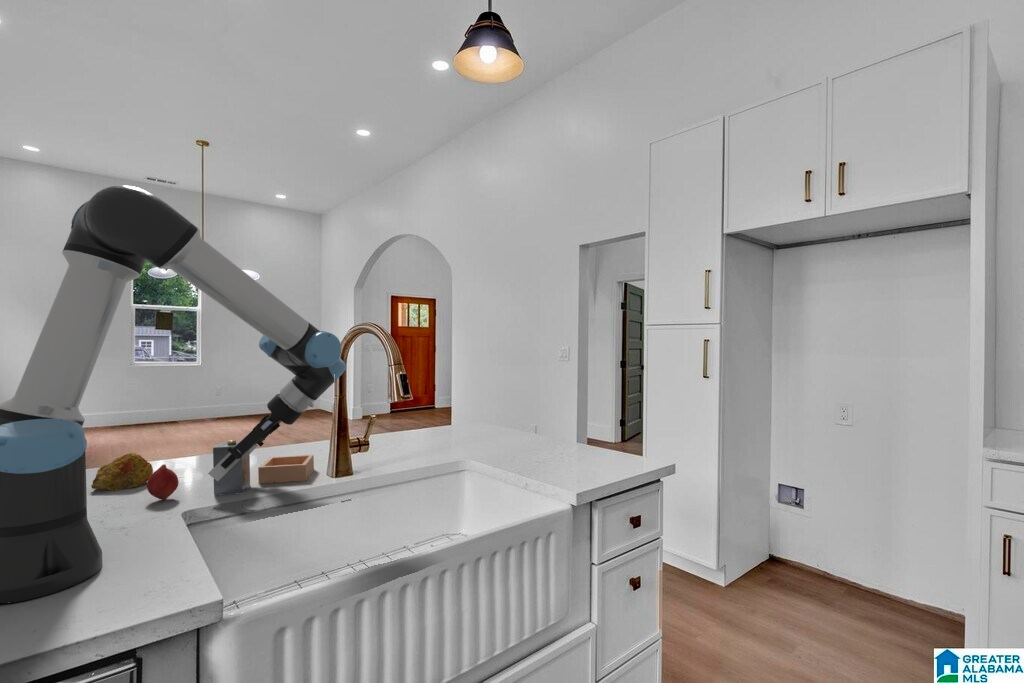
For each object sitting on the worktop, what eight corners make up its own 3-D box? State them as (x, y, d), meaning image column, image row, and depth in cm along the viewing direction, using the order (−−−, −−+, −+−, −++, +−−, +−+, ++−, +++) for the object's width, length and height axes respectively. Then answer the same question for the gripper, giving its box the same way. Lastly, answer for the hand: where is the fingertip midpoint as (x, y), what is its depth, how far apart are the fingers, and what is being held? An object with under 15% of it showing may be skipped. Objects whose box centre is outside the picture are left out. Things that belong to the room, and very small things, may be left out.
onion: (142, 505, 111) (142, 468, 111) (153, 497, 117) (152, 462, 117) (173, 502, 113) (172, 466, 113) (182, 495, 118) (181, 460, 118)
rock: (117, 509, 122) (80, 482, 119) (122, 505, 129) (87, 479, 126) (159, 470, 127) (124, 444, 124) (161, 469, 134) (128, 443, 131)
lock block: (242, 493, 119) (241, 442, 119) (213, 495, 118) (212, 444, 118) (250, 486, 125) (249, 437, 125) (223, 487, 124) (222, 438, 124)
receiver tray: (305, 480, 129) (305, 464, 129) (258, 483, 127) (258, 467, 127) (313, 469, 140) (313, 454, 140) (270, 472, 138) (270, 457, 137)
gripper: (291, 422, 112) (217, 495, 109) (312, 406, 137) (252, 466, 134) (264, 398, 111) (189, 472, 108) (290, 387, 135) (229, 447, 133)
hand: (223, 469), depth 121 cm, fingers open, 13 cm apart
